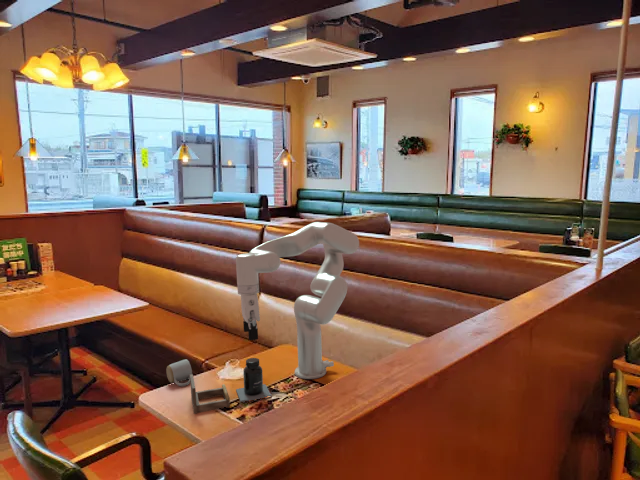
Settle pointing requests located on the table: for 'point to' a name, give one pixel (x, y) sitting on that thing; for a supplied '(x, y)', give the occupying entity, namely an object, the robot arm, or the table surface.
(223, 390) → the dispenser stand
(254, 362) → the supplement bottle
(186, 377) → the ceramic mug
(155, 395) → the table surface
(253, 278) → the robot arm
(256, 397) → the rubber pad
